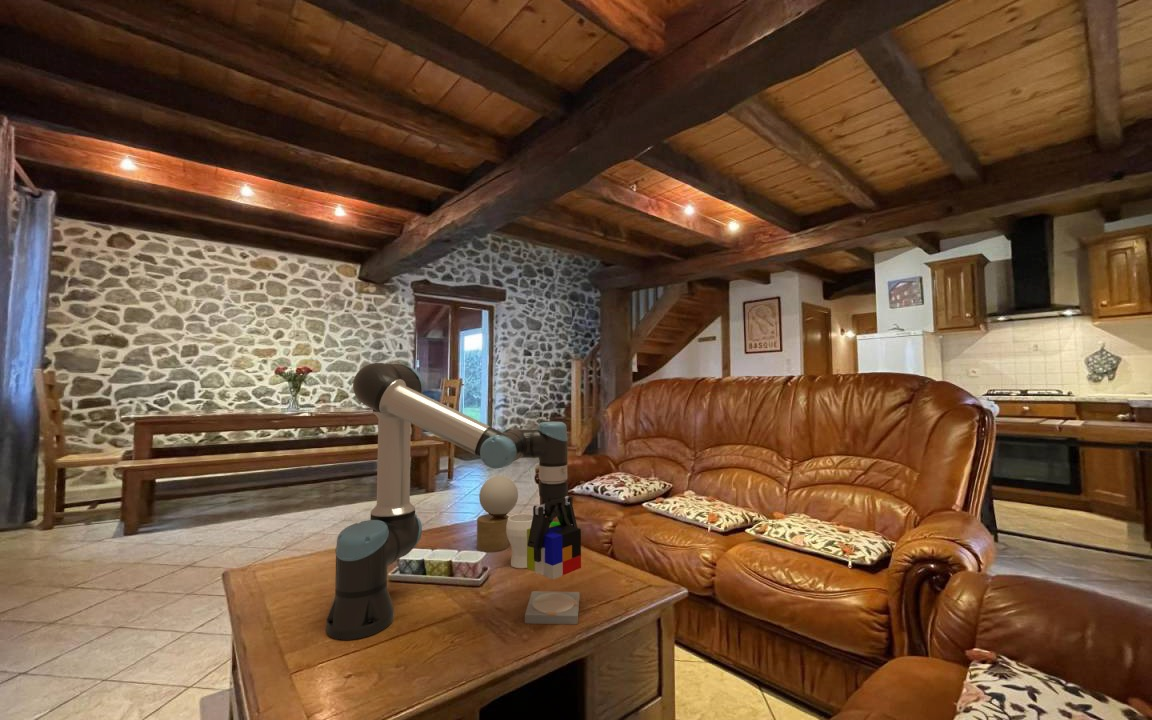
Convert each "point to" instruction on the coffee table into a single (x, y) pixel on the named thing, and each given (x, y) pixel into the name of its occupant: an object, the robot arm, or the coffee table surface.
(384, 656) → the coffee table surface
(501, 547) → the lamp
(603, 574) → the coffee table surface
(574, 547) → the puzzle toy
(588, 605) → the coffee table surface
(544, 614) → the plinth
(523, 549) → the cup
